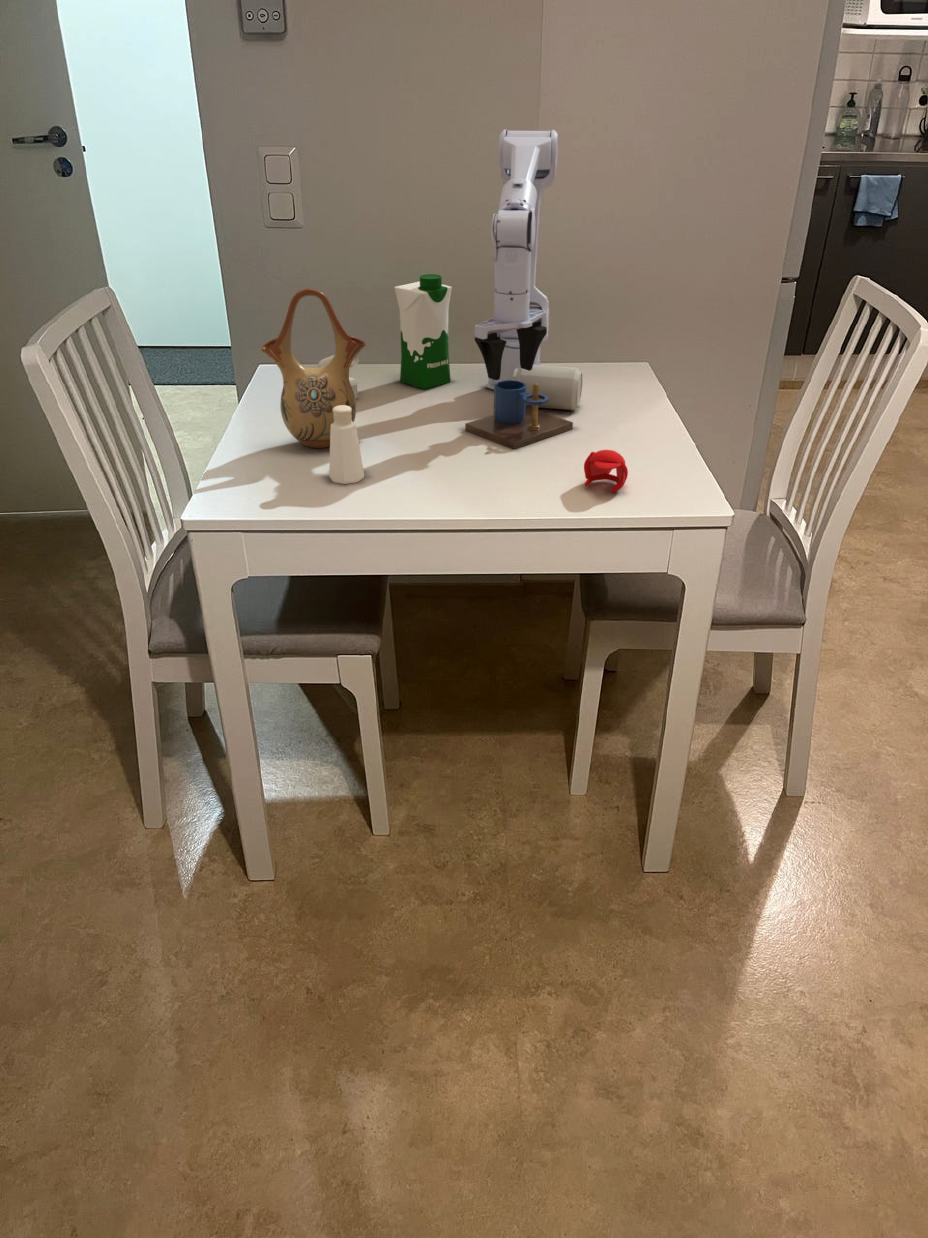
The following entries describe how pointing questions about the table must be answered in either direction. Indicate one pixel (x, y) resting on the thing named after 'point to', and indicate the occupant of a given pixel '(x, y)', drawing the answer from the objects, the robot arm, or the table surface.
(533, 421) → the peg stand
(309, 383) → the ceramic vessel
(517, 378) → the can
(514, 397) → the cup
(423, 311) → the milk carton
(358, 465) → the pepper shaker
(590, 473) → the red hollow rounded piece
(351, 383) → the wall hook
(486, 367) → the robot arm
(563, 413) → the table surface
